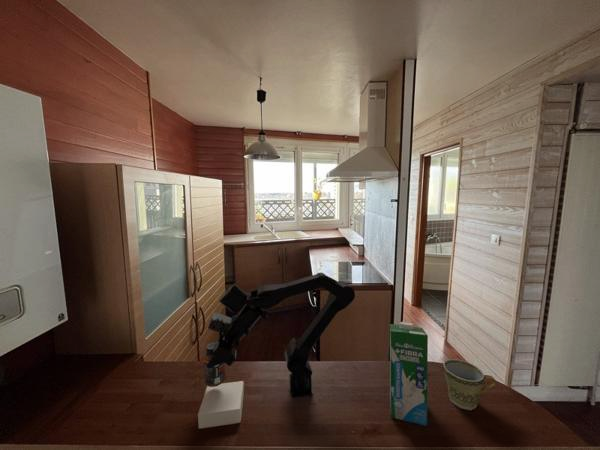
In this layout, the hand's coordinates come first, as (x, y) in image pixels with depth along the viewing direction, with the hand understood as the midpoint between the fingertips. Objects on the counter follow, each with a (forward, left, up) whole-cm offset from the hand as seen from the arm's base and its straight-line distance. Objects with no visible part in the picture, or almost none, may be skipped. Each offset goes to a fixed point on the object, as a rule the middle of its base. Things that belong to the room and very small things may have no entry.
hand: (209, 360), depth 73 cm
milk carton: (-57, +12, -13) cm, 60 cm away
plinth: (-4, +3, -13) cm, 14 cm away
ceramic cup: (-76, +13, -14) cm, 78 cm away
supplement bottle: (-1, 0, -7) cm, 7 cm away
